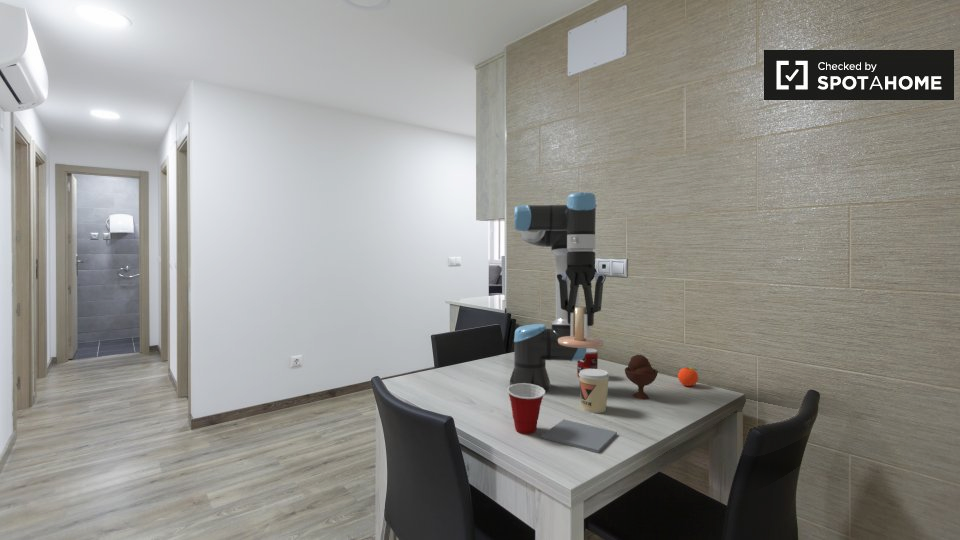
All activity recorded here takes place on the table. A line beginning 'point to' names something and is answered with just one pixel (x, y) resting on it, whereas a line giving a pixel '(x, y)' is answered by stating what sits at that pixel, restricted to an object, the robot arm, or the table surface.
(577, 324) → the lid
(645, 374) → the ice cream bowl
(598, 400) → the coffee cup
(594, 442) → the mat
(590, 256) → the robot arm
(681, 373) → the clementine
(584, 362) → the canned food
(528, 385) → the plastic cup
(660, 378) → the table surface
